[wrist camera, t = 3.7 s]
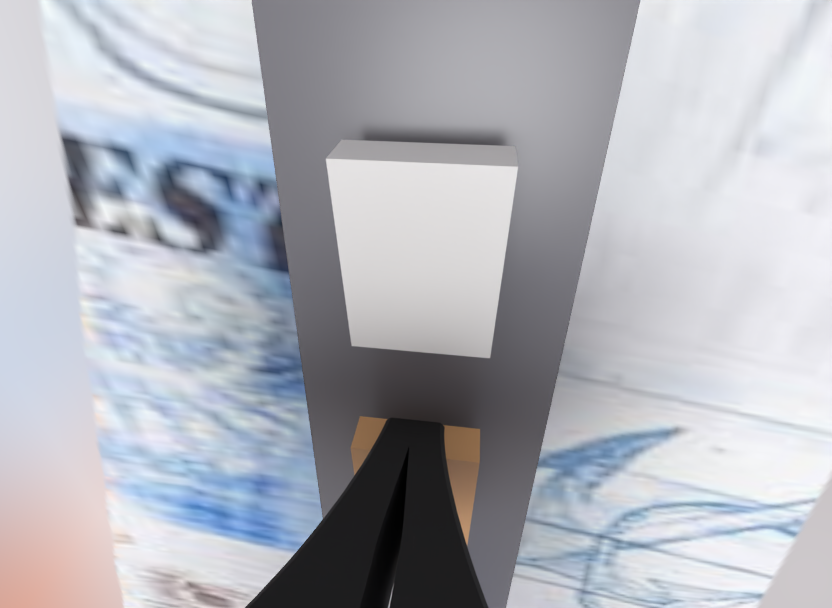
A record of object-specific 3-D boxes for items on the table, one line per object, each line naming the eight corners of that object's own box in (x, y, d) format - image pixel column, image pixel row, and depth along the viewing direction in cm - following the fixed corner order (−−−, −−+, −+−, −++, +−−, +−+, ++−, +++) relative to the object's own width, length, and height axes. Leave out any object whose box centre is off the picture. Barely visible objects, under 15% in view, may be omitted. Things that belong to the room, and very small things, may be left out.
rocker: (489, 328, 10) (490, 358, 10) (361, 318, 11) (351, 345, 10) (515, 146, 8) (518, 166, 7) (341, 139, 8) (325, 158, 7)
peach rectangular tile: (467, 516, 14) (466, 549, 13) (370, 504, 14) (363, 535, 13) (480, 429, 11) (479, 462, 10) (360, 416, 11) (350, 447, 11)
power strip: (492, 585, 21) (494, 669, 18) (355, 565, 22) (336, 642, 19) (624, -127, 9) (699, -229, 6) (295, -118, 9) (211, -204, 6)
